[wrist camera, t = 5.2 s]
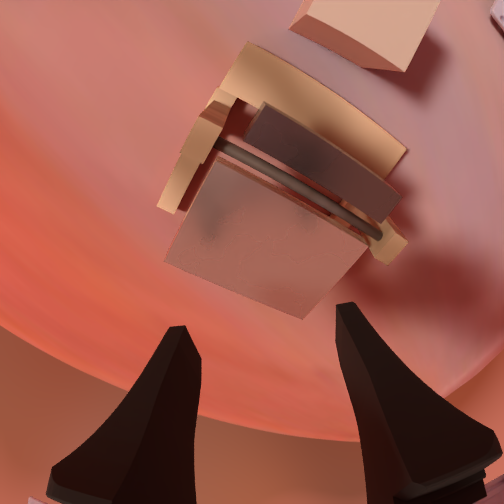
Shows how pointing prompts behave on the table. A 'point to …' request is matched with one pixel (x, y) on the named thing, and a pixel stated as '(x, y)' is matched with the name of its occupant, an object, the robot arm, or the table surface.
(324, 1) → the beige block
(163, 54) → the table surface
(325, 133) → the frame
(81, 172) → the table surface
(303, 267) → the trapdoor
